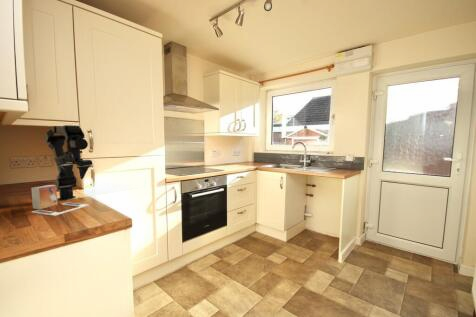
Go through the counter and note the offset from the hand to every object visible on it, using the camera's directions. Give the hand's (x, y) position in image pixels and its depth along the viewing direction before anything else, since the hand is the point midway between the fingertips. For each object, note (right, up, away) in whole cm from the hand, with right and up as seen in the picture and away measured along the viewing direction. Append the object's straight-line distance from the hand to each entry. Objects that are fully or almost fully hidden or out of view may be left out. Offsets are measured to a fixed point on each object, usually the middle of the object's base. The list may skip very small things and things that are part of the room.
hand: (75, 178), depth 117 cm
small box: (-11, -14, -6) cm, 19 cm away
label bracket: (0, -14, -10) cm, 17 cm away
